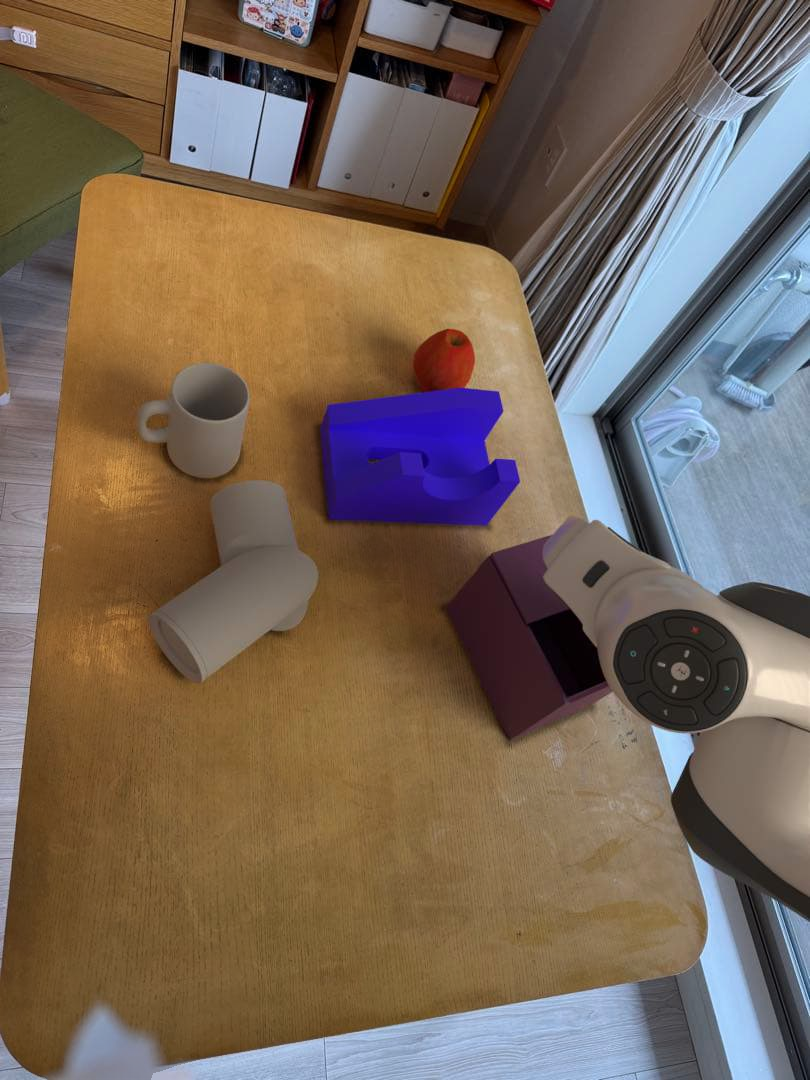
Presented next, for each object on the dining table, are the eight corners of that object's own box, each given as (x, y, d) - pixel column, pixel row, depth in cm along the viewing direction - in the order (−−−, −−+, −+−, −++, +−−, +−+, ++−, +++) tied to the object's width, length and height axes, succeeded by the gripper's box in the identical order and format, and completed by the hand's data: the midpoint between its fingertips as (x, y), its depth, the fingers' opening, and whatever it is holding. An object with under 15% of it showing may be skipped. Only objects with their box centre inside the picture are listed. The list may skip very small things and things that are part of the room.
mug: (231, 419, 97) (242, 360, 88) (246, 476, 93) (258, 420, 84) (131, 425, 92) (131, 363, 83) (142, 485, 88) (143, 427, 79)
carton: (590, 705, 92) (658, 663, 80) (509, 740, 87) (569, 701, 75) (524, 582, 98) (578, 525, 86) (444, 608, 92) (490, 552, 81)
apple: (394, 385, 108) (417, 331, 99) (424, 355, 112) (449, 301, 103) (441, 420, 107) (469, 368, 98) (470, 388, 112) (499, 336, 103)
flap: (656, 662, 80) (658, 665, 80) (568, 699, 75) (570, 703, 75) (709, 638, 73) (712, 642, 73) (616, 677, 68) (618, 682, 68)
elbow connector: (336, 667, 83) (298, 509, 92) (336, 634, 74) (294, 460, 82) (168, 706, 80) (145, 538, 88) (146, 677, 71) (122, 492, 79)
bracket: (469, 439, 107) (498, 391, 98) (486, 525, 100) (520, 481, 92) (319, 428, 100) (337, 375, 91) (328, 519, 94) (348, 471, 85)
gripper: (794, 687, 57) (753, 648, 70) (580, 505, 59) (580, 501, 73) (732, 746, 58) (703, 697, 72) (526, 565, 61) (535, 551, 74)
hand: (640, 597), depth 72 cm, fingers closed on pepper shaker, 4 cm apart
